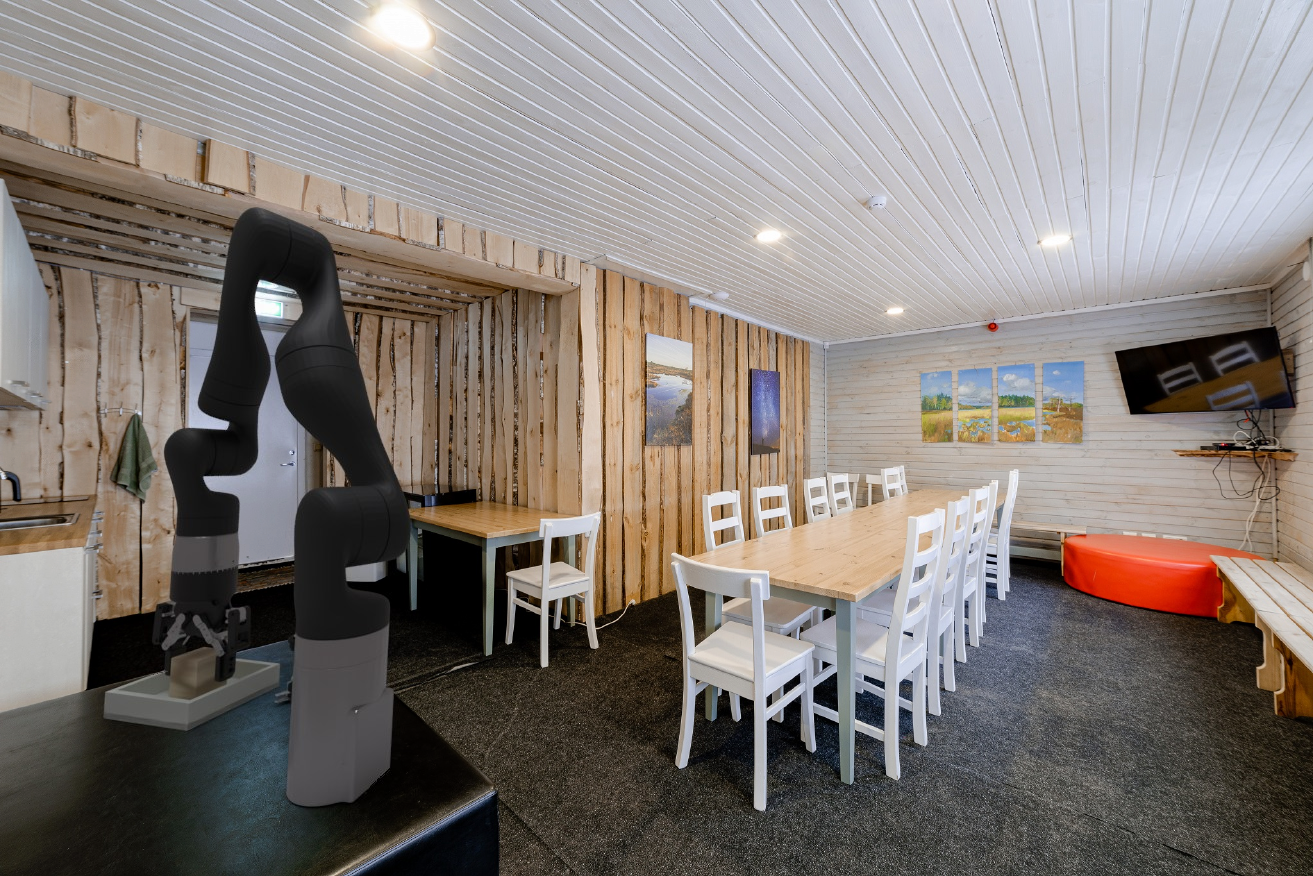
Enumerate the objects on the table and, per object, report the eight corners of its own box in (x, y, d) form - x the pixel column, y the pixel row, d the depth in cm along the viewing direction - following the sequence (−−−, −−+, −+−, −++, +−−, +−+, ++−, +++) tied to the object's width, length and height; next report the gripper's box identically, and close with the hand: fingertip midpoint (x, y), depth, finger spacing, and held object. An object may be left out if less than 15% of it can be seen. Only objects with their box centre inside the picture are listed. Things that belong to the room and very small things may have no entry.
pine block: (226, 690, 78) (228, 649, 78) (195, 704, 74) (197, 661, 74) (201, 687, 79) (203, 647, 79) (168, 701, 75) (171, 658, 75)
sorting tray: (278, 686, 82) (280, 663, 82) (187, 730, 69) (189, 703, 69) (205, 677, 84) (207, 654, 84) (103, 718, 71) (105, 691, 71)
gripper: (270, 562, 79) (264, 671, 79) (192, 557, 82) (185, 662, 81) (221, 573, 72) (214, 693, 72) (137, 566, 75) (129, 682, 74)
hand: (199, 676), depth 76 cm, fingers open, 8 cm apart
